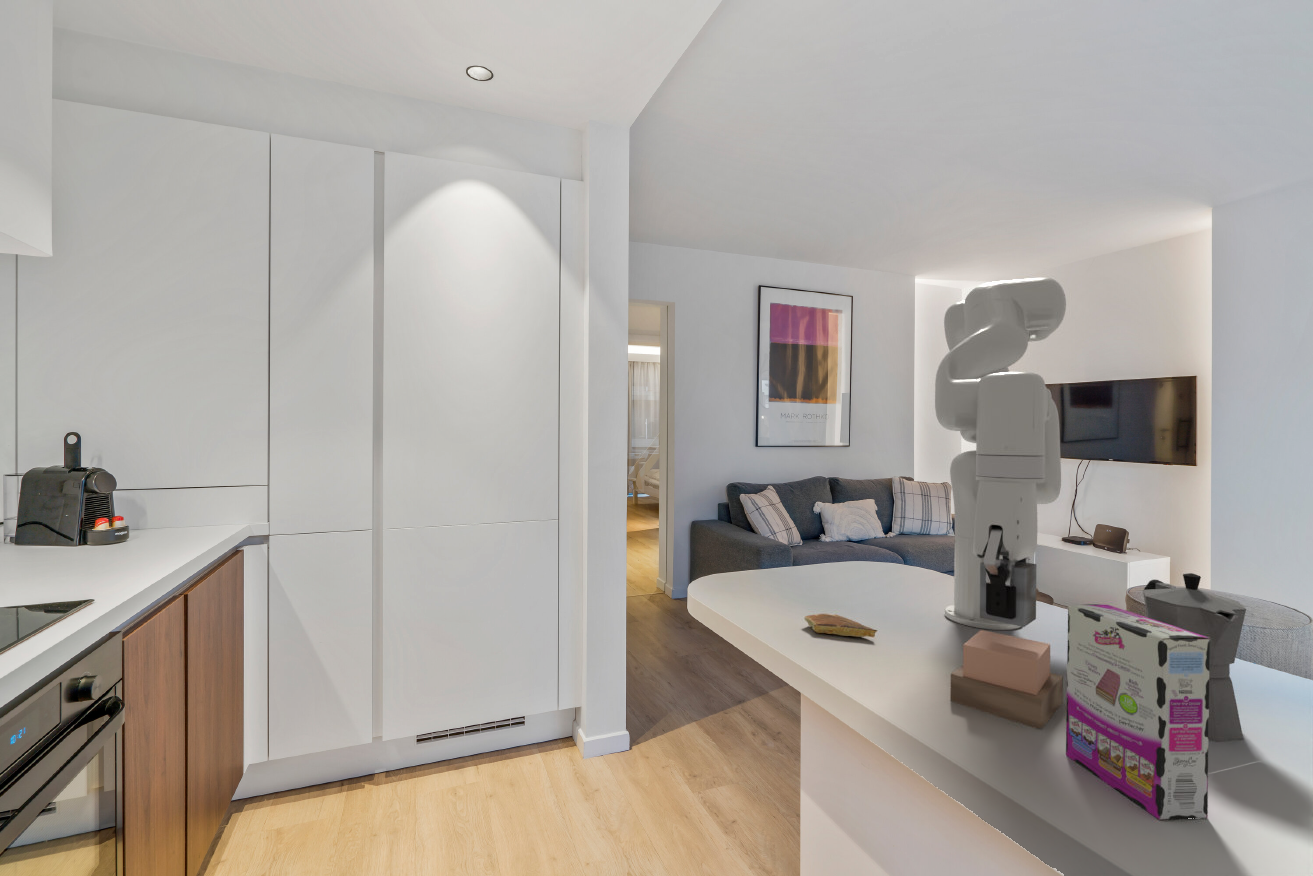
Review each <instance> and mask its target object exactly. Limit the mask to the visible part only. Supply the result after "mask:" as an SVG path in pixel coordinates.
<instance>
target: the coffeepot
mask: <svg viewBox="0 0 1313 876" xmlns="http://www.w3.org/2000/svg"><path fill="white" fill-rule="evenodd" d="M1182 577H1183V581H1184V586H1185V587H1176V586H1175V585H1173V584H1170V583H1166V582H1163V581H1162V580H1159V579H1151V580H1149V581H1148V582H1147V584H1146V585H1145V587H1144V588H1143V589H1142V593H1143V598H1144V599H1143V600H1144V605H1145V610H1146V617H1147V618H1150V619H1153V620H1157V621H1160V622H1163V623H1166V624H1169V625H1172V626H1175V627H1178V628H1181V629H1184V630H1187V631H1190V632H1193V633H1196V634H1199V635H1202V636H1205V637H1209V638H1210V657H1209V718H1208V741H1212V742H1218V743H1219V742H1221V743H1222V742H1230V741H1238V740H1237V739H1239V740H1244V735H1243V734H1244V733H1243V730H1242V726H1241V720H1240V715H1239V710H1238V705H1237V700H1236V696H1235V690H1234V689H1235V688H1234V685H1233V681H1232V678H1231V676H1230V670H1231V668H1230V665H1232V664H1235V660H1236V658H1237V657H1236V656H1237V652H1238V647H1239V643H1240V639H1241V634H1242V630H1243V625H1244V621H1245V616H1246V613H1247V612H1246V611H1247V609H1246V607H1245V606H1243V604H1242V603H1241V602H1240V601H1238V600H1234V599H1230V598H1227V597H1223V596H1221V595H1218V594H1215V593H1212V592H1208V591H1205V590H1201V589H1199V585H1200V582H1201V578H1202V577H1201V576H1200V575H1198V574H1195V573H1188V572H1187V573H1182Z"/></svg>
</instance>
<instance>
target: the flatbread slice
mask: <svg viewBox="0 0 1313 876" xmlns="http://www.w3.org/2000/svg"><path fill="white" fill-rule="evenodd" d="M804 620H805V621H806V623H807V624H808V626H810V627H811V629H812V630H813V631H814V632H815V633H817V634H827V635H838V636H841V637H842V636H844V637H849V636H850V637H856V638H857V637H858V638H862V637H863V638H864V637H866V638H867V637H869V638H875V636H876V633H877V632H878V629H874V628H871V627H870V626H866V625H864V624H862V623H859V622H857V621H854V620H853V619H849V618H847V617H844V616H841V615H838V614H829V613H819V614H818V613H816V614H811V615H809V614H808V615H806V616H804Z"/></svg>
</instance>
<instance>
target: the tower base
mask: <svg viewBox="0 0 1313 876" xmlns="http://www.w3.org/2000/svg"><path fill="white" fill-rule="evenodd" d="M949 696H950V702H952V703H955V704H957V705H962V706H965V707H968V708H971V709H974V710H977V711H981V712H984V713H986V714H990V715H994V716H997V717H1000V718H1003V719H1006V720H1010V721H1013V722H1015V723H1019V724H1022V725H1025V726H1027V727H1032V728H1034V729H1037V730H1042V729H1043V728H1044V727H1045V726H1046V724H1047V723H1048V722H1049V720H1051V718H1052V717H1053V716H1054V714H1055V713H1056V712H1057V711H1058V709H1059V708H1060V707H1061V706H1062V705H1063V703H1064V675H1061V674H1056V673H1053V672H1050V676H1049V678H1048V679H1047V681H1046V682H1045V684H1044V685H1043V687H1042V688H1041V690H1040V691H1039V693H1038V694H1037V695H1034V694H1031V693H1027V692H1023V691H1019V690H1015V689H1011V688H1007V687H1003V686H1000V685H996V684H992V683H988V682H984V681H980V680H976V679H973V678H969V677H965V676H963V665H961V666H960V667H958V668H957V669H955V670H954V671H953V672H951V673H950V695H949Z"/></svg>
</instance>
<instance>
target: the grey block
mask: <svg viewBox="0 0 1313 876" xmlns="http://www.w3.org/2000/svg"><path fill="white" fill-rule="evenodd" d="M1000 566H1003V567H1004V569H1005V572H1006V571H1007V566H1006V565H1000ZM985 569H986V567H985V565H984V562H982V563H980V618H983V619H988V620H993V621H997V622H1002V623H1007V624H1012V625H1017V626H1021V627H1023V628H1025V627H1027V626H1028V625H1030V624H1031V623H1032V622H1033V621H1035V620H1036V619H1037V563H1032V562H1031V563H1030V562H1029V563H1024V562H1018V561H1017V562H1015V567H1014V578H1013V586H1015V587H1016V617H1015V618H1014V619H1007V618H1002V617H997V616H992V615H988V614H987V613H986V570H985ZM1021 627H1020V628H1021Z"/></svg>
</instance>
